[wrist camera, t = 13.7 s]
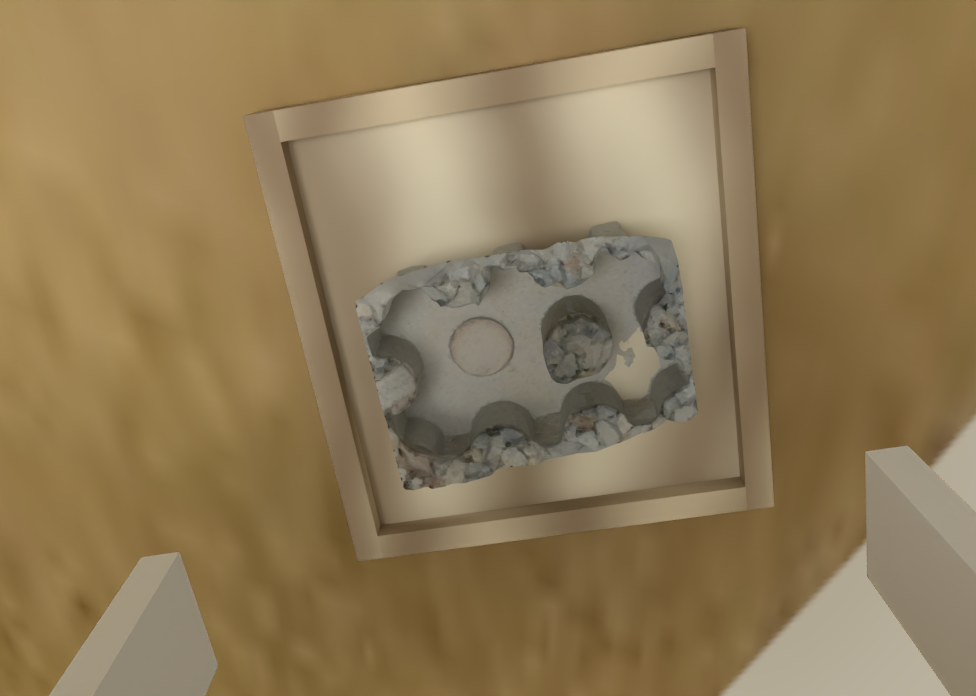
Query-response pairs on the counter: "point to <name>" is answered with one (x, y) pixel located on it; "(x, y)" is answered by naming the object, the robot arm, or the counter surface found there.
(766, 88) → the counter surface
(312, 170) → the tray
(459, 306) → the egg carton
